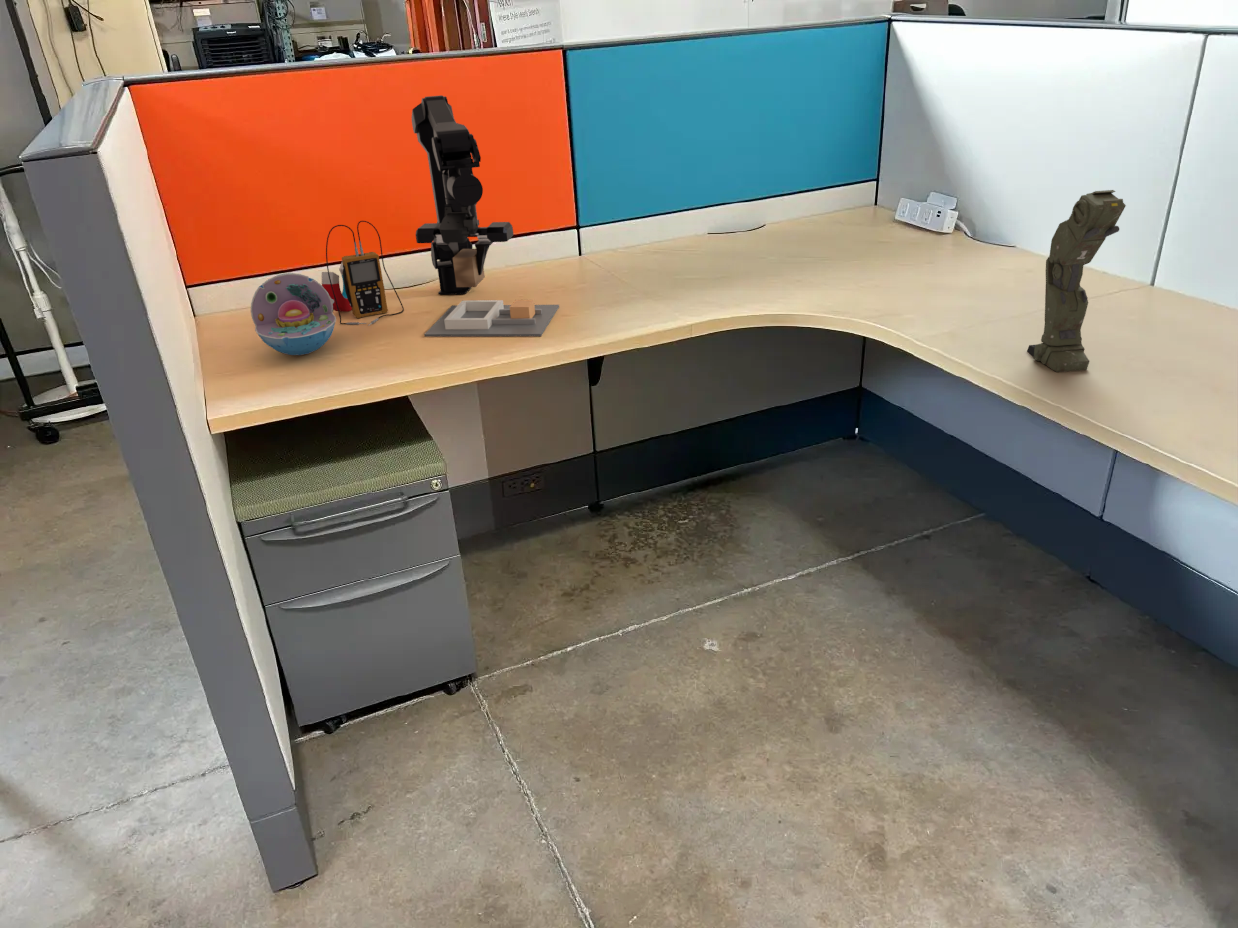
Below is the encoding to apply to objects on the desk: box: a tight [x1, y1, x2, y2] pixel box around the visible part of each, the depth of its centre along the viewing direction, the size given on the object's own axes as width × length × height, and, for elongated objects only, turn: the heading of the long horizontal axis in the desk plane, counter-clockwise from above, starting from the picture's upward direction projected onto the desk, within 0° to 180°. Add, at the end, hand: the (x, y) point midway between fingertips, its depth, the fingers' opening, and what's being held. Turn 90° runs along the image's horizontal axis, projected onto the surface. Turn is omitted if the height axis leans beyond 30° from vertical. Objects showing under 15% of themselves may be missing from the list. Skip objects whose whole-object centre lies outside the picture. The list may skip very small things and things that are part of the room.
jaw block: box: [453, 248, 486, 288], centre depth 182 cm, size 4×7×6 cm, turn 173°
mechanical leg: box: [1026, 189, 1127, 373], centre depth 145 cm, size 14×7×30 cm, turn 5°
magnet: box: [321, 262, 352, 313], centre depth 196 cm, size 12×3×10 cm, turn 169°
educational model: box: [250, 272, 337, 356], centre depth 172 cm, size 16×19×15 cm
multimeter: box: [325, 220, 405, 326], centre depth 187 cm, size 15×10×20 cm
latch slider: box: [510, 299, 536, 318], centre depth 184 cm, size 4×5×3 cm
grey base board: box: [424, 299, 560, 338], centre depth 186 cm, size 24×19×2 cm
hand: (469, 274), depth 182 cm, fingers closed on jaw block, 4 cm apart
